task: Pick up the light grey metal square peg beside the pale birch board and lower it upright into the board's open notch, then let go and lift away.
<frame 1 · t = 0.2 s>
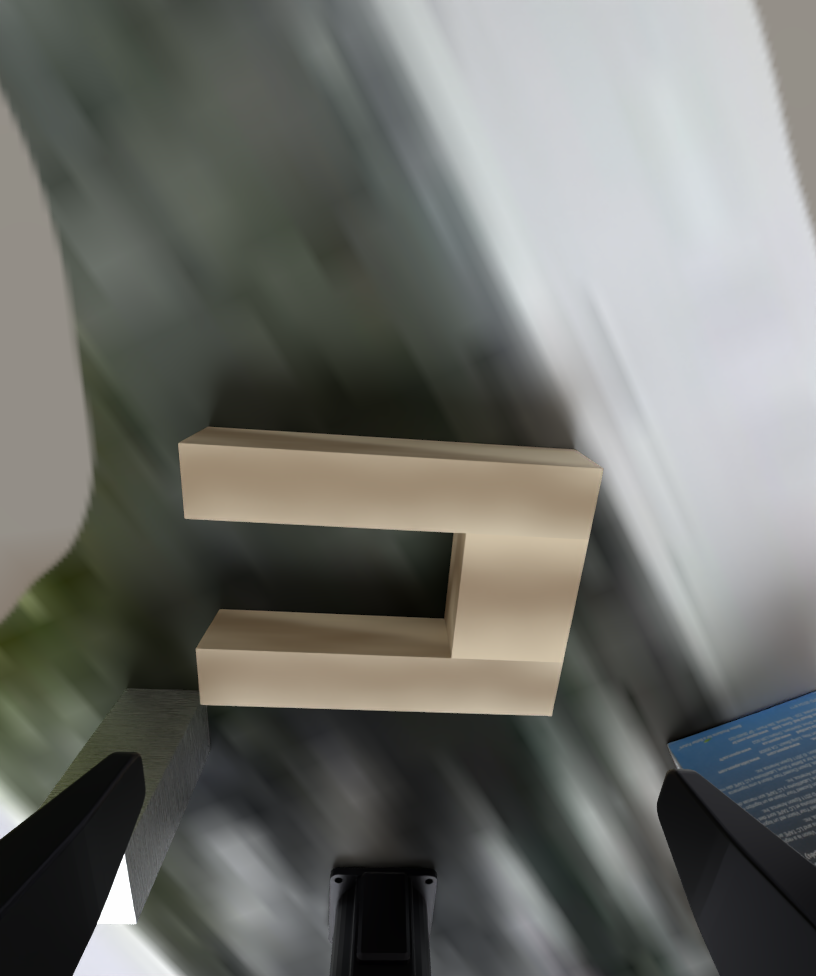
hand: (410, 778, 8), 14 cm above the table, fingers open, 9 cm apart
grey peg: (169, 720, 25), on the table
notched board: (387, 561, 23), on the table
label tape cartridge: (745, 734, 27), on the table
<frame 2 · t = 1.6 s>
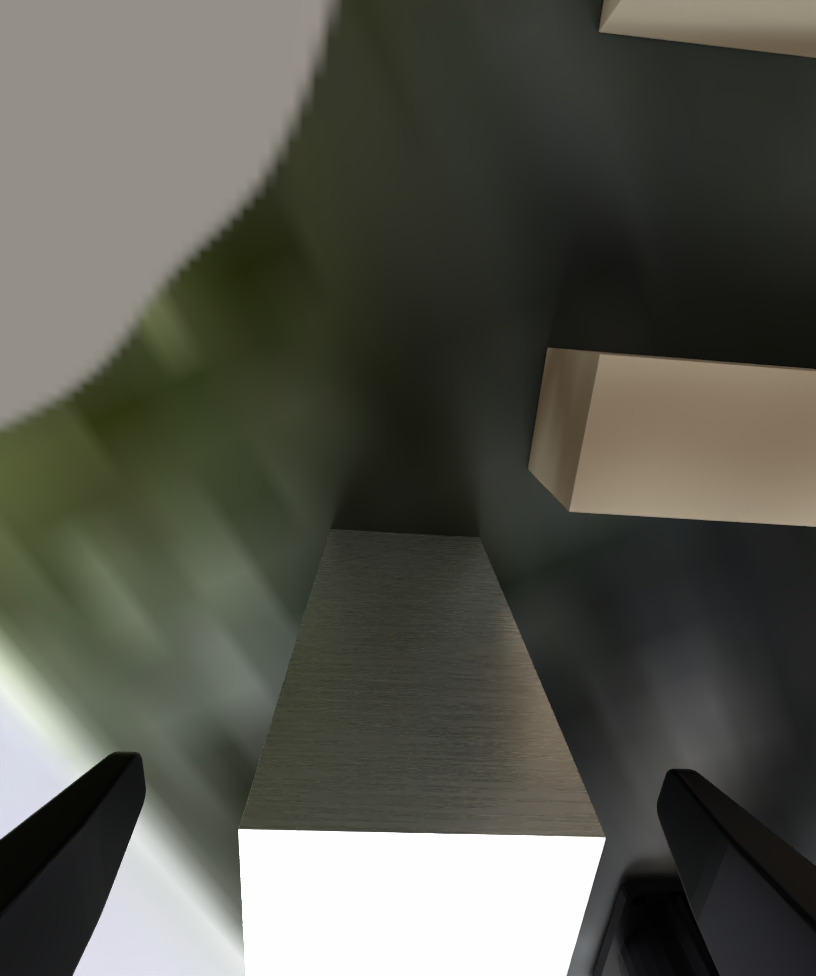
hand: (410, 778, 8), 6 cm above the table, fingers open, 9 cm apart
grey peg: (400, 598, 13), on the table
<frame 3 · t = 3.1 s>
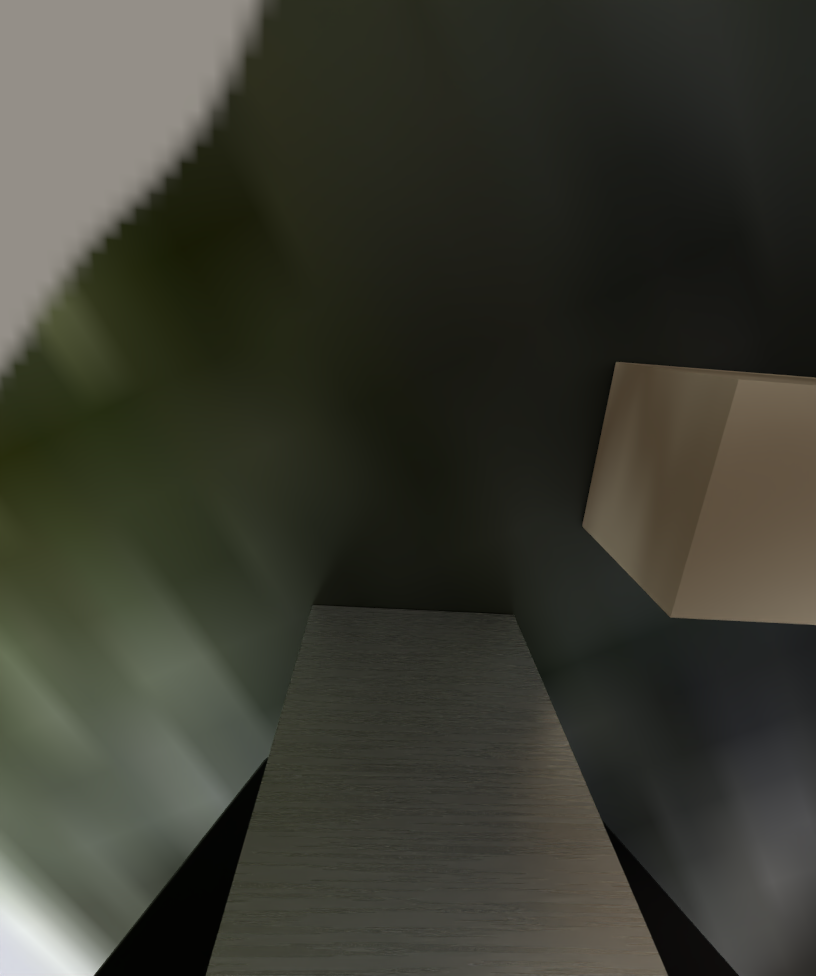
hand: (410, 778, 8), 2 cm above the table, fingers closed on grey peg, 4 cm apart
grey peg: (406, 692, 10), on the table, touching gripper
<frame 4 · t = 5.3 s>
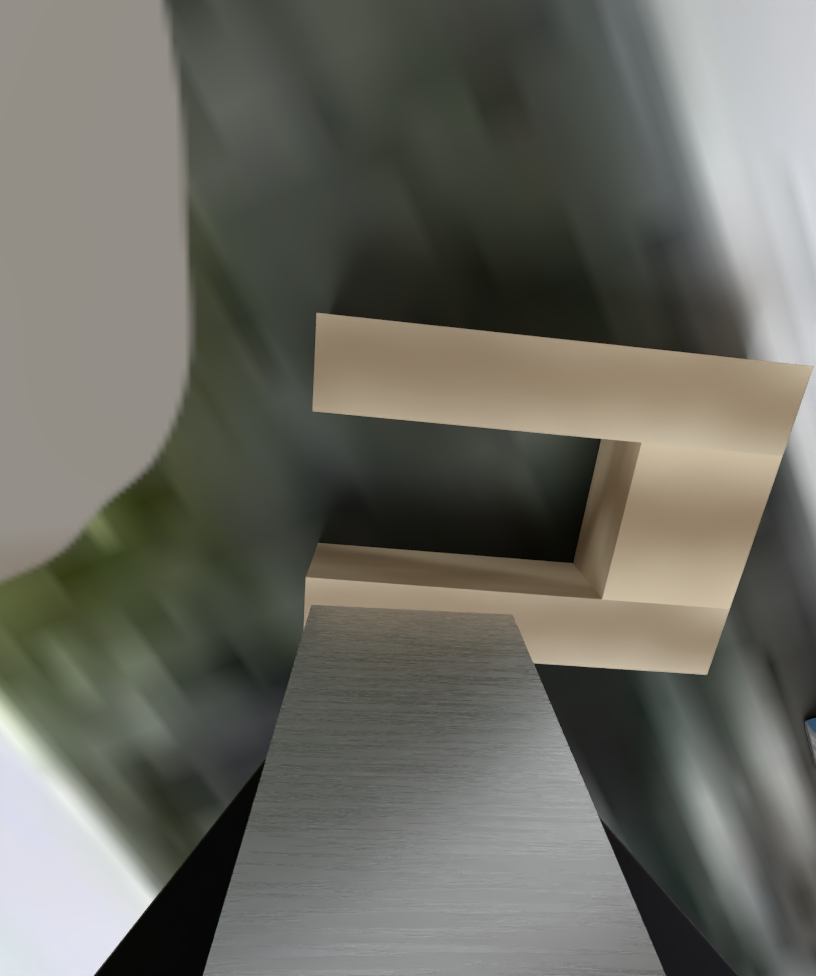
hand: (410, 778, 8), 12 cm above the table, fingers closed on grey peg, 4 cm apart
grey peg: (405, 692, 10), point 10 cm above the table, touching gripper
notched board: (517, 491, 20), on the table
when the fingers open (3 cm above the table, at t = 7.8 s): grey peg drops 1 cm, resting in notched board.
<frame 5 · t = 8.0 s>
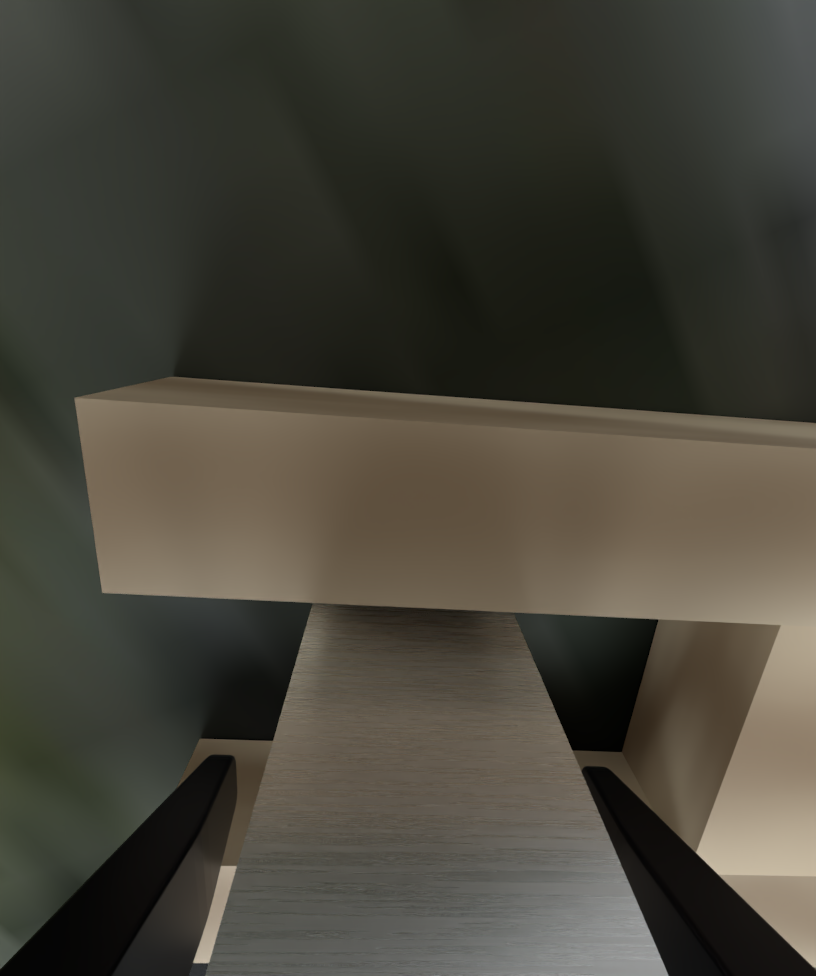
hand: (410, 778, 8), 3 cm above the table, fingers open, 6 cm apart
grey peg: (404, 646, 11), resting in notched board
notched board: (528, 652, 12), on the table
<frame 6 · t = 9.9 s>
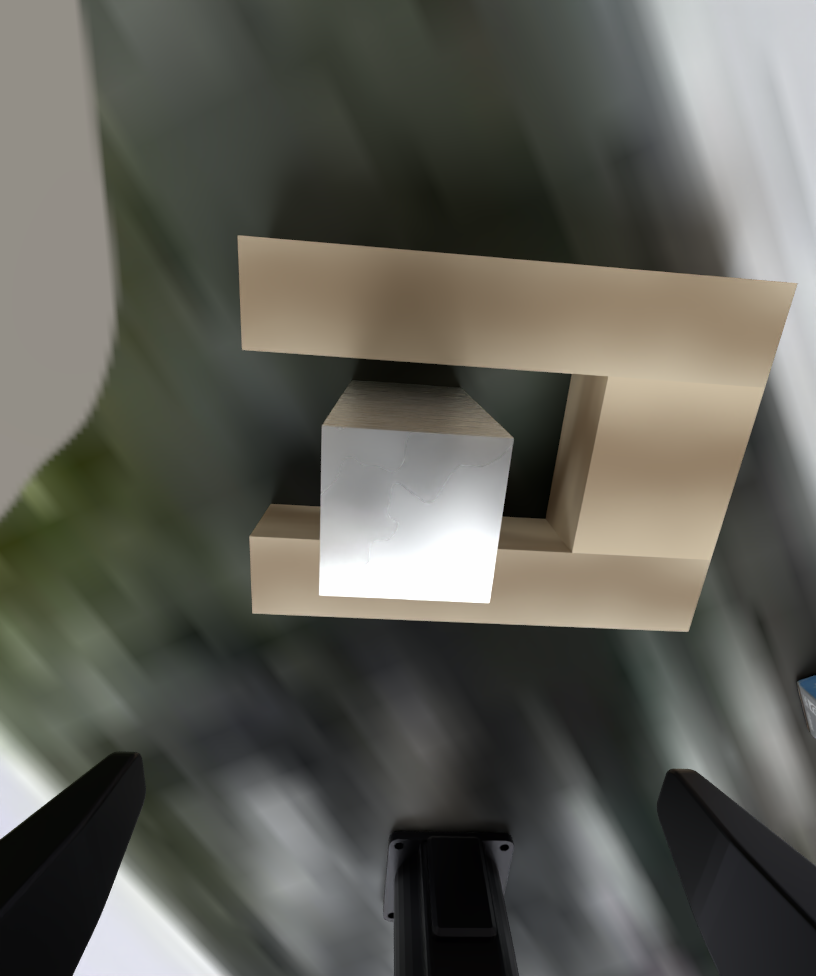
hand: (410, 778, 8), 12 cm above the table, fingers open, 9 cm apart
grey peg: (402, 437, 18), resting in notched board
notched board: (481, 442, 18), on the table
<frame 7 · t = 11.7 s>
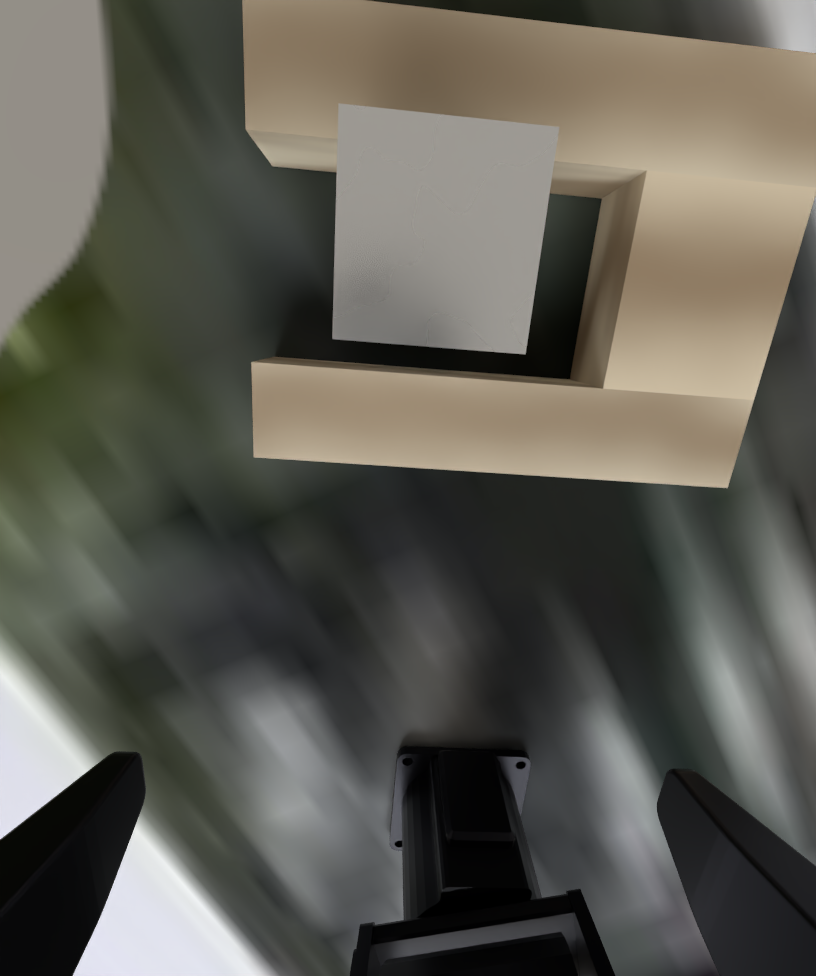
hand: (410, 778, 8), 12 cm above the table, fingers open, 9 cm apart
grey peg: (417, 279, 17), resting in notched board
notched board: (502, 286, 17), on the table
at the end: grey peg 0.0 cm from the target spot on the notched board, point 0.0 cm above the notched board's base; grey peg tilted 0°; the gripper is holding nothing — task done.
